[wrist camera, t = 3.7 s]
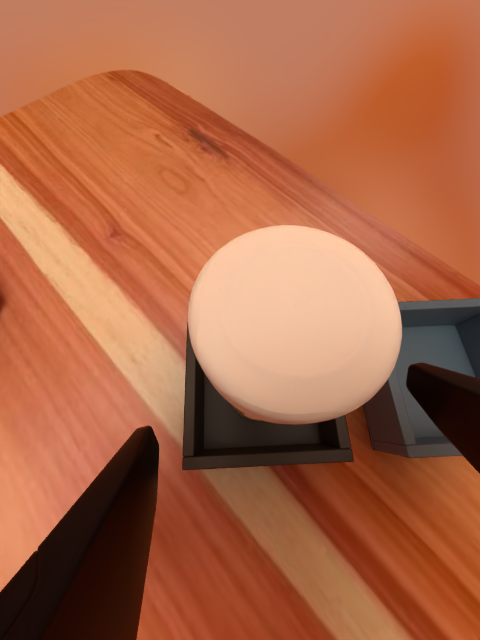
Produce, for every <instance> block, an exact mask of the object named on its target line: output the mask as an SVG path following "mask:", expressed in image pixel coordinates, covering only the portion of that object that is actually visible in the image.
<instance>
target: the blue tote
mask: <svg viewBox="0 0 480 640" xmlns="http://www.w3.org/2000/svg"><path fill="white" fill-rule="evenodd" d="M398 306H399V309H400V314H401V322H402V340H401V346H400V352H399V355H398V358H397V361H396V364H395V367H394V369H393V371H392V372H391V375H390V377H389V378H388V380H387V381H386V383H385V384H384V385H383V386H382V387H381V388H380V390H379V391H378V392H377V393H376V394H375V395H374V396H373V397H372V398H371V399H370V400H369V401H368V402H366V403H365V404H363V406H364V411H365V415H366V420H367V424H368V429H369V433H370V438H371V442H372V447H373V450H377V451H381V452H385V453H390V454H394V455H398V456H402V457H407V458H423V457H443V456H462V454H461V453H460V452H459V451H458V450H457V449H456V447H455V446H454V445H453V444H452V443H451V442H450V441H449V440H448V439H447V438H446V437H445V436H444V435H443V433H442V432H441V431H440V430H439V429H438V428H437V426H436V425H435V424H434V423H433V421H432V420H431V419H430V418H429V416H428V415H427V414H426V413H425V411H424V410H423V409H422V407H421V406H420V405H419V404H418V402H417V401H416V400H415V398H414V397H413V396H412V395H411V393H410V392H409V391H408V389H407V386H406V379H407V371H408V367H409V366H410V365H411V364H415V363H420V362H423V363H427V364H430V365H434V366H437V367H441V368H444V369H448V370H451V371H455V372H458V373H461V374H465V375H468V376H472V377H475V378H479V379H480V298H474V299H453V300H432V301H412V302H398Z"/></svg>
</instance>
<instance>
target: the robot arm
mask: <svg viewBox="0 0 480 640" xmlns="http://www.w3.org/2000/svg"><path fill="white" fill-rule="evenodd" d="M406 386H407V389H408V391H409V392H410V393H411V395H412V396H413V397H414V398H415V400H416V401H417V402H418V404H419V405H420V406H421V407H422V409H423V410H424V411H425V413H426V414H427V415H428V416H429V418H430V419H431V420H432V421H433V423H434V424H435V425H436V426H437V428H438V429H439V430H440V431H441V432H442V433H443V435H444V436H445V437H446V438H447V439H448V440H449V441H450V442H451V443H452V444H453V445H454V446H455V447H456V449H457V450H458V451H459V452H460V453H461V454H462V455H463V456H464V457H465V458H466V459H467V460H468V462H469V463H470V464H471V465H472V466H473V467H474V468H475V469H476V470H477V471H478V472H479V473H480V379H479V378H475V377H472V376H468V375H465V374H461V373H458V372H455V371H451V370H448V369H444V368H441V367H437V366H434V365H430V364H427V363H423V362H420V363H415V364H411V365H410V366H409V367H408V371H407V379H406ZM158 467H159V444H158V441H157V439H156V436H155V434H154V431H153V429H152V427H151V426H144V427H140V428H137V429H136V430H135V431H134V433H133V434H132V435H131V436H130V437H129V439H128V440H127V441H126V442H125V443H124V445H123V446H122V447H121V448H120V449H119V451H118V452H117V453H116V454H115V455H114V457H113V458H112V459H111V460H110V461H109V463H108V464H107V465H106V466H105V467H104V469H103V470H102V471H101V472H100V473H99V475H98V476H97V477H96V478H95V480H94V481H93V482H92V483H91V484H90V486H89V487H88V488H87V489H86V490H85V492H84V493H83V494H82V495H81V496H80V498H79V499H78V500H77V501H76V502H75V504H74V505H73V506H72V507H71V508H70V510H69V511H68V512H67V513H66V514H65V516H64V517H63V518H62V519H61V520H60V522H59V523H58V524H57V525H56V526H55V528H54V529H53V530H52V531H51V532H50V534H49V535H48V536H47V537H46V539H45V540H44V541H43V542H42V543H41V545H40V546H39V547H38V551H35V552H34V553H33V554H32V555H31V556H30V558H29V559H28V560H27V561H26V562H25V564H24V565H23V566H22V567H21V568H20V570H19V571H18V572H17V573H16V574H15V576H14V577H13V578H12V579H11V580H10V581H9V583H8V584H7V585H6V586H5V587H4V588H3V590H2V591H1V592H0V640H136V639H137V632H138V625H139V619H140V612H141V605H142V598H143V592H144V585H145V578H146V571H147V565H148V558H149V551H150V544H151V538H152V531H153V524H154V517H155V511H156V503H157V489H158Z"/></svg>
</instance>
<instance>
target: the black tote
mask: <svg viewBox="0 0 480 640" xmlns="http://www.w3.org/2000/svg"><path fill="white" fill-rule="evenodd" d="M350 448H351V444H350V439H349V434H348V428H347V423H346V418H345V415H343V416H340V417H337V418H334V419H331V420H327V421H323V422H317V423H310V424H297V425H293V424H277V423H271V422H266V421H255V420H249V419H247V418H245V417H243V416H241V415H240V414H239V413H237V412H236V410H235V409H234V408H233V407H232V405H231V404H230V403H229V402H228V401H227V400H226V399H225V398H224V397H223V396H222V395H221V394H220V393H219V392H218V391H217V390H216V389H215V387H214V386H213V385H212V383H211V382H210V380H209V379H208V377H207V376H206V374H205V373H204V371H203V370H202V368H201V366H200V364H199V362H198V360H197V358H196V356H195V353H194V350H193V348H192V345H191V341H190V336H189V329H188V322H187V349H186V377H185V406H184V434H183V462H182V469H183V470H198V469H218V468H237V467H257V466H277V465H296V464H316V463H335V462H353V455H352V450H351V449H350Z"/></svg>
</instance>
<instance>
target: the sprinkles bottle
mask: <svg viewBox="0 0 480 640" xmlns="http://www.w3.org/2000/svg"><path fill="white" fill-rule="evenodd" d="M188 329H189V336H190V341H191V345H192V348H193V350H194V353H195V356H196V358H197V360H198V362H199V364H200V366H201V368H202V370H203V371H204V373H205V374H206V376H207V377H208V379H209V380H210V382H211V383H212V385H213V386H214V387H215V389H216V390H217V391H218V392H219V393H220V394H221V395H222V396H223V397H224V398H225V399H226V400H227V401H228V402H229V403H230V404H231V405H232V407H233V408H234V409H235V410H236V412H237V413H239V414H240V415H241V416H243V417H245V418H247V419H249V420H255V421H266V422H271V423H277V424H293V425H297V424H310V423H317V422H323V421H327V420H331V419H334V418H337V417H340V416H343V415H346V414H348V413H350V412H352V411H354V410H355V409H357V408H359V407H360V406H362V405H363V404H365V403H366V402H368V401H369V400H370V399H371V398H372V397H373V396H374V395H375V394H376V393H377V392H378V391H379V390H380V388H381V387H382V386H383V385H384V384H385V383H386V381H387V380H388V378H389V377H390V375H391V372H392V371H393V369H394V367H395V364H396V361H397V358H398V355H399V352H400V346H401V340H402V322H401V314H400V309H399V306H398V302H397V299H396V297H395V294H394V292H393V289H392V287H391V286H390V284H389V282H388V281H387V279H386V277H385V276H384V274H383V273H382V272H381V271H380V269H379V268H378V267H377V266H376V264H375V263H374V262H373V261H372V260H371V259H370V258H369V257H368V256H367V255H366V254H364V253H363V252H362V251H361V250H360V249H358V248H357V247H355V246H354V245H353V244H351V243H349V242H348V241H346V240H344V239H342V238H340V237H338V236H336V235H333V234H331V233H328V232H325V231H322V230H319V229H314V228H310V227H305V226H293V225H279V226H270V227H265V228H261V229H257V230H254V231H250V232H247V233H245V234H243V235H240V236H238V237H237V238H235V239H233V240H232V241H230V242H228V243H227V244H225V245H224V246H223V247H221V248H220V249H219V250H218V251H217V252H216V253H215V254H214V255H213V256H212V257H211V258H210V259H209V260H208V261H207V263H206V264H205V265H204V267H203V268H202V270H201V271H200V273H199V275H198V277H197V279H196V281H195V283H194V286H193V289H192V292H191V296H190V300H189V306H188Z"/></svg>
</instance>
